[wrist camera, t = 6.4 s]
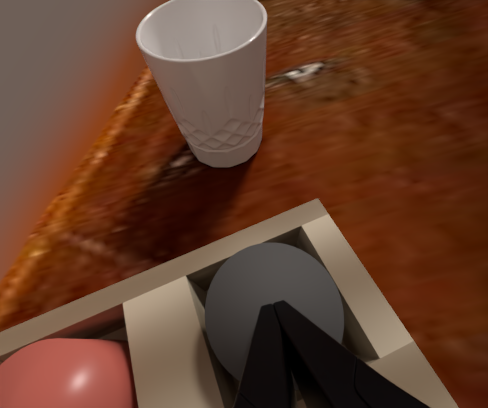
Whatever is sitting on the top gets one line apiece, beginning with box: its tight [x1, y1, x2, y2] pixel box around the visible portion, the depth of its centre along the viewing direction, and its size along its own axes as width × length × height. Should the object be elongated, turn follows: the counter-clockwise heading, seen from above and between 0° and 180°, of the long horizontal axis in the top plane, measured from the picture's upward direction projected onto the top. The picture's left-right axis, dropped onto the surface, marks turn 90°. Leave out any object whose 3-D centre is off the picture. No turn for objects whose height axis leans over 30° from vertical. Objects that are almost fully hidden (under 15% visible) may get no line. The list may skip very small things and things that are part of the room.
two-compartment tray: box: [0, 198, 459, 408], centre depth 12 cm, size 10×18×6 cm, turn 113°
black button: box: [205, 243, 344, 390], centre depth 11 cm, size 5×5×4 cm
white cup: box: [136, 0, 267, 167], centre depth 19 cm, size 8×8×10 cm
